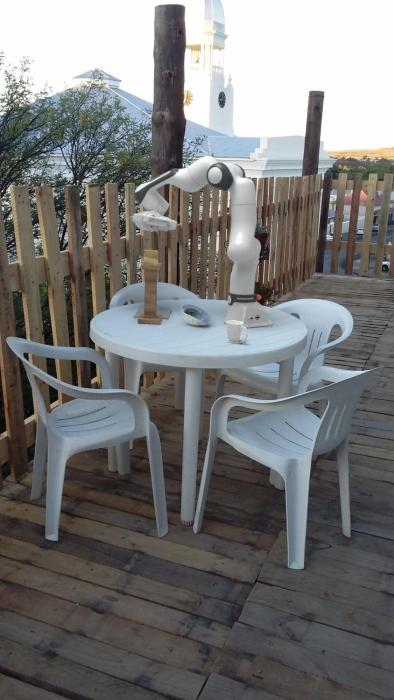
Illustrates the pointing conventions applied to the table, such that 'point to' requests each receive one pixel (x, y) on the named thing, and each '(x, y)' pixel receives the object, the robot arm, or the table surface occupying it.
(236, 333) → the cup
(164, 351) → the table surface
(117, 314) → the table surface
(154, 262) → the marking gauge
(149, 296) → the walnut stand
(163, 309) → the rubber mat
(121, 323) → the table surface
